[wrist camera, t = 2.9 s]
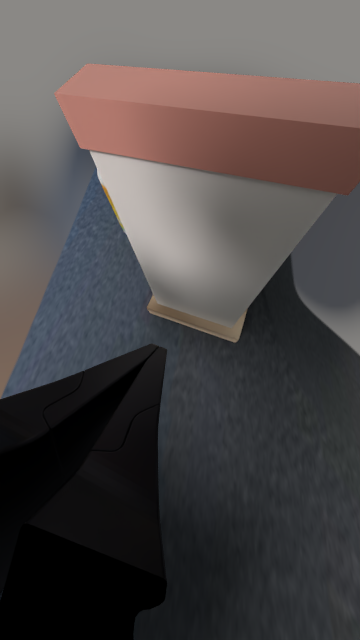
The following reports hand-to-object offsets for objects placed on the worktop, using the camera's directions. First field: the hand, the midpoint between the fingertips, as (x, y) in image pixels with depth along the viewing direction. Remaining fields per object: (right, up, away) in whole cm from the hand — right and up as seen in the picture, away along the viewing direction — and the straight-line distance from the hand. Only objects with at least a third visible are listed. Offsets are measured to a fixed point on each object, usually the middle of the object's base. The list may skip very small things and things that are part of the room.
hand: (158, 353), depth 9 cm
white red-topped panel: (+3, +3, +9) cm, 10 cm away
